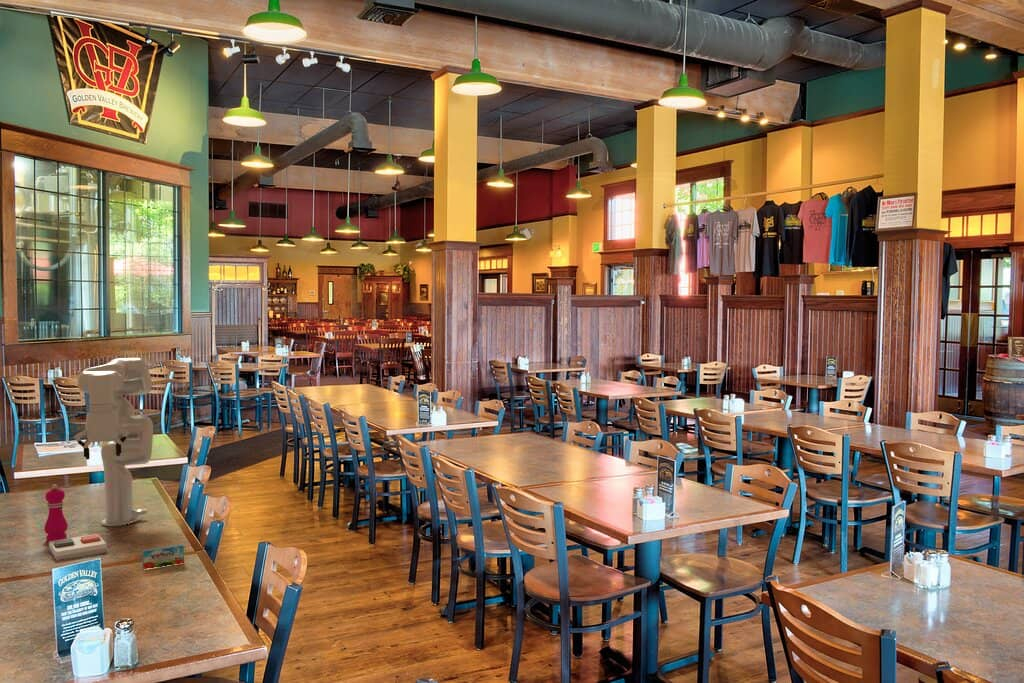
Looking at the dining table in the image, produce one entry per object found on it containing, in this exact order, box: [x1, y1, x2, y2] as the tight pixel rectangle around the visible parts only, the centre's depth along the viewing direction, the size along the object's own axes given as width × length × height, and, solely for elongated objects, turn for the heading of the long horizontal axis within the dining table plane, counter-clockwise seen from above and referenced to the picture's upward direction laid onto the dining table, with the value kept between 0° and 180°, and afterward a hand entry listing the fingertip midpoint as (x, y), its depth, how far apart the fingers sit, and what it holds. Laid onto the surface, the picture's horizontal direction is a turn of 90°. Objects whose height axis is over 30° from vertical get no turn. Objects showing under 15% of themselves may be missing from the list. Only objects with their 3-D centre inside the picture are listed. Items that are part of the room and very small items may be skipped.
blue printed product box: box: [141, 544, 185, 570], centre depth 256 cm, size 12×2×6 cm, turn 120°
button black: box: [54, 537, 74, 548], centre depth 271 cm, size 5×5×2 cm
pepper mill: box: [44, 483, 69, 543], centre depth 287 cm, size 7×7×20 cm
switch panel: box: [48, 533, 108, 561], centre depth 274 cm, size 15×15×3 cm
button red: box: [81, 533, 101, 544], centre depth 276 cm, size 5×5×2 cm
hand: (102, 457), depth 282 cm, fingers open, 9 cm apart
